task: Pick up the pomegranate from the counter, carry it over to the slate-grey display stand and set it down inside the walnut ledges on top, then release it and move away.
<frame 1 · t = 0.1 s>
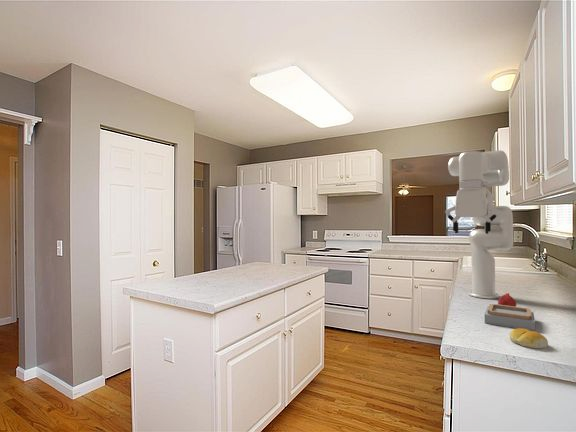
hand: (471, 233, 118), 31 cm above the countertop, tool pointing down, fingers open, 9 cm apart
display stand: (509, 321, 115), on the countertop
bread roll: (528, 344, 95), on the countertop
pomegranate: (507, 314, 125), on the countertop
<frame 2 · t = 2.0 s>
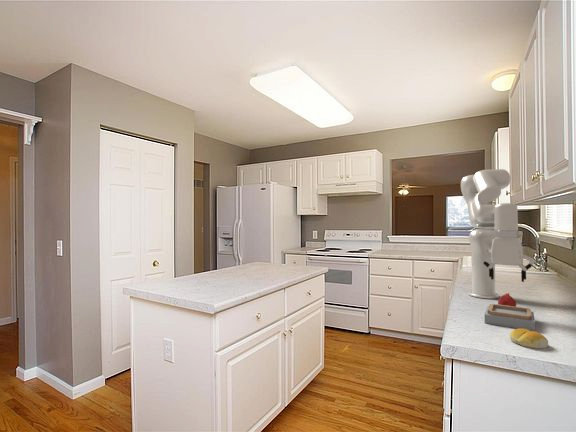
hand: (507, 280, 124), 13 cm above the countertop, tool pointing down, fingers open, 9 cm apart
nothing on the countertop moved.
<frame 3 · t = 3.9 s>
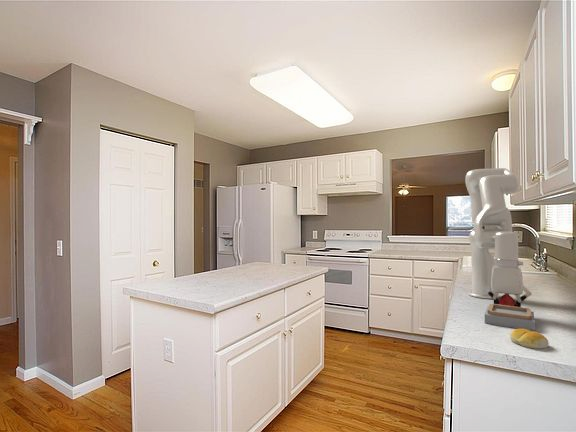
hand: (507, 310, 125), 1 cm above the countertop, tool pointing down, fingers closed on pomegranate, 5 cm apart
pomegranate: (507, 314, 125), on the countertop, touching gripper
everything else where it was.
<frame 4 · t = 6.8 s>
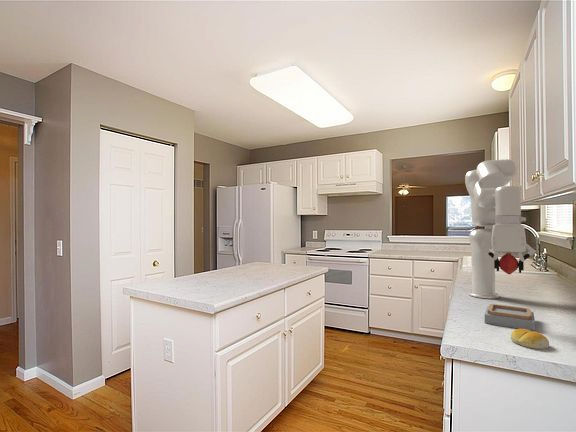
hand: (508, 271, 115), 18 cm above the countertop, tool pointing down, fingers closed on pomegranate, 5 cm apart
pomegranate: (508, 275, 115), point 16 cm above the countertop, touching gripper
everything else where it was.
when the fingers open (5 cm above the countertop, at t = 9.9 s): pomegranate drops 1 cm, resting on display stand.
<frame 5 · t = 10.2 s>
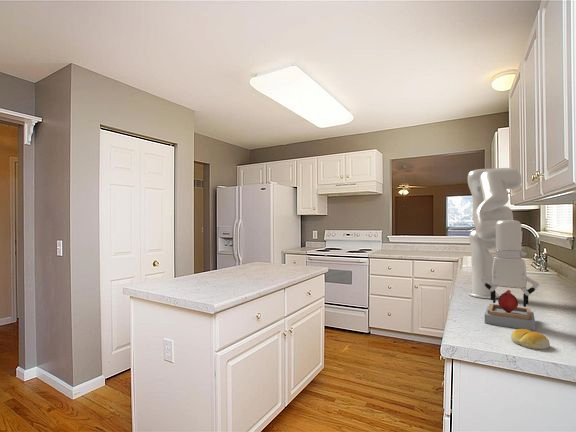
hand: (509, 304, 115), 6 cm above the countertop, tool pointing down, fingers open, 8 cm apart
pomegranate: (508, 313, 115), point 3 cm above the countertop, touching display stand
everything else where it was.
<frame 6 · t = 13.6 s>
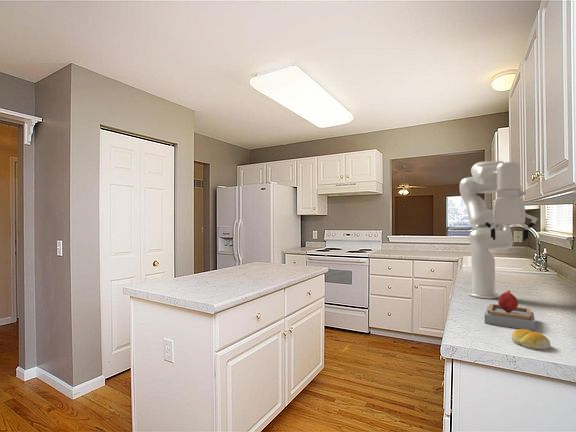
hand: (509, 240, 123), 28 cm above the countertop, tool pointing down, fingers open, 9 cm apart
nothing on the countertop moved.
at the end: pomegranate 0.4 cm off-centre on the display stand, point 2.8 cm above the display stand's base; the gripper is holding nothing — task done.
